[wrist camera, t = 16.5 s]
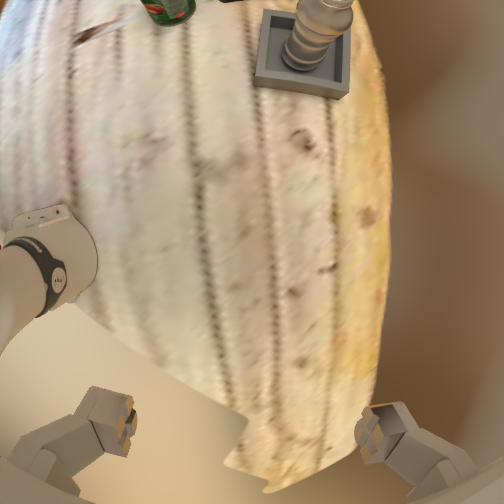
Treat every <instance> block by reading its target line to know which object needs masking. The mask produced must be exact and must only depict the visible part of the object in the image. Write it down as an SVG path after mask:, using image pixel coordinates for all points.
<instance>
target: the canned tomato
mask: <svg viewBox="0 0 504 504" xmlns="http://www.w3.org/2000/svg"><path fill="white" fill-rule="evenodd" d="M141 2H142V3H143V5H144V6H145V8H146V10H147V11H148V13H149V14H150V16H151V17H152V19H153V21H154V22H155V23H156V24H158V25H161V26H175V25H178V24H180V23H183V22H184V21H186V20H188V19H189V18H190V17H191V16H192V15H193V13H194V12H195V9H196V2H195V0H141Z"/></svg>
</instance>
